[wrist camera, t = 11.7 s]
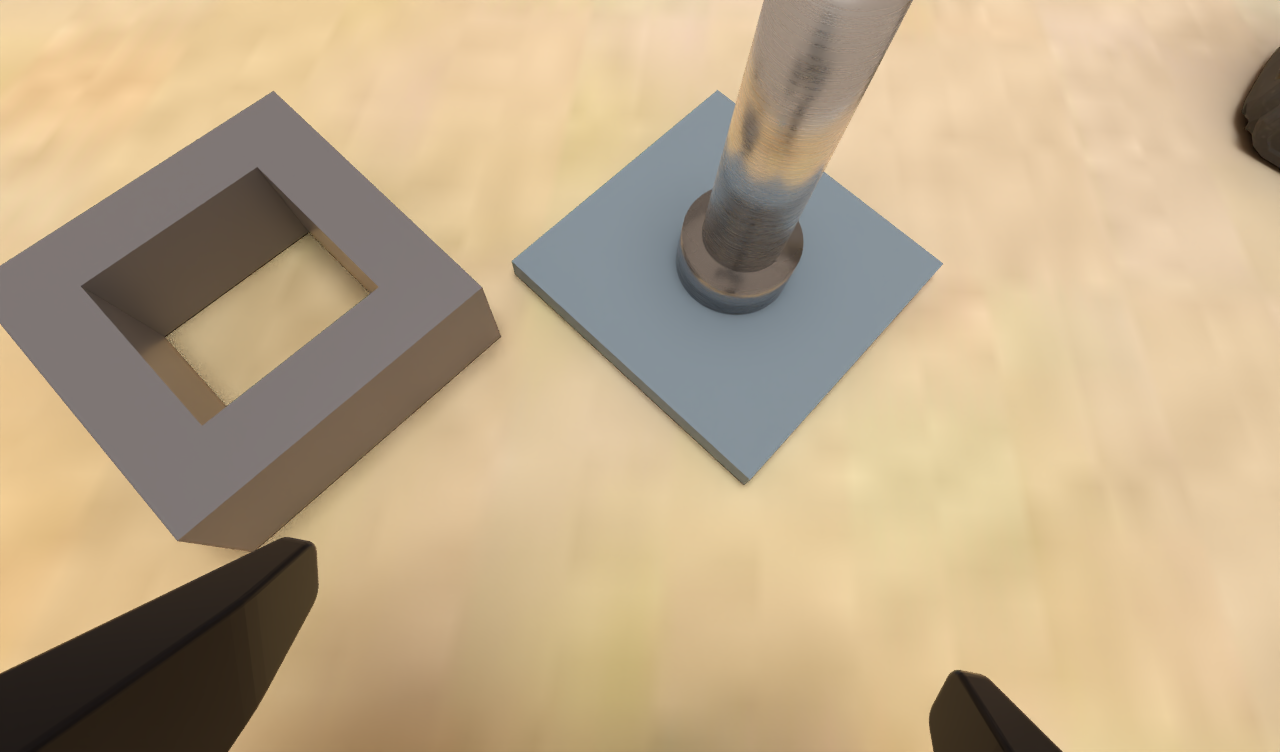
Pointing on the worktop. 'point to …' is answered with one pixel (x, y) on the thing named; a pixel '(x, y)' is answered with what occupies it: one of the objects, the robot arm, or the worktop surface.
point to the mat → (705, 339)
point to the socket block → (199, 274)
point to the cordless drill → (1265, 111)
